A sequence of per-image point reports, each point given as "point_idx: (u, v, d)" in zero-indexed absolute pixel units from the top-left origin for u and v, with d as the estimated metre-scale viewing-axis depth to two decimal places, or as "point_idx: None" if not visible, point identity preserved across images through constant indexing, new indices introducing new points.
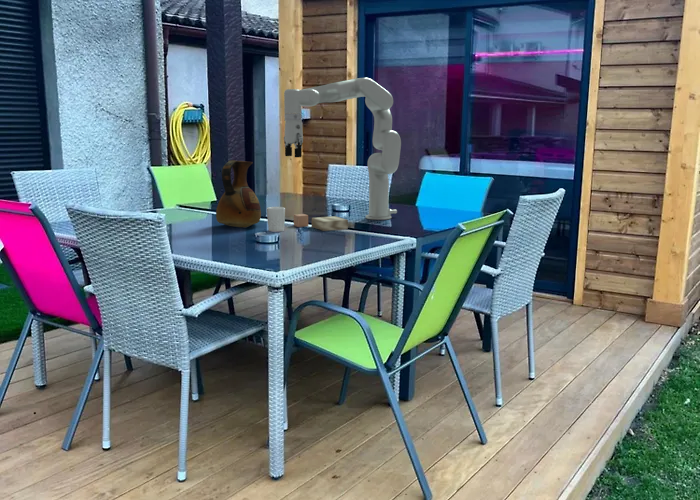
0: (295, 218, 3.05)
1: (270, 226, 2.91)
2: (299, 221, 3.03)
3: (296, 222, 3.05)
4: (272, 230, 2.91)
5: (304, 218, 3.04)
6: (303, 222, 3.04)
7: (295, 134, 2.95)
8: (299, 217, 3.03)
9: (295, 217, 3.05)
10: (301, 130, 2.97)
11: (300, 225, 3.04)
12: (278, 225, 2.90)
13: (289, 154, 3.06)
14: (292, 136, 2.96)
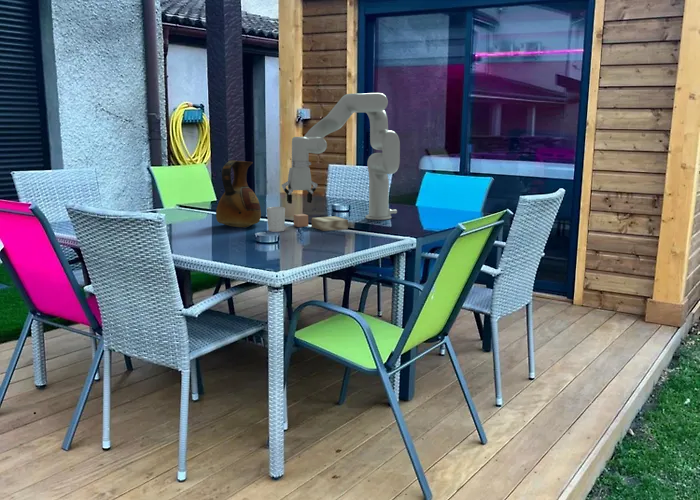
0: (295, 218, 3.05)
1: (270, 226, 2.91)
2: (299, 221, 3.03)
3: (296, 222, 3.05)
4: (272, 230, 2.91)
5: (304, 218, 3.04)
6: (303, 222, 3.04)
7: None
8: (299, 217, 3.03)
9: (295, 217, 3.05)
10: None
11: (300, 225, 3.04)
12: (278, 225, 2.90)
13: None
14: (309, 183, 3.03)
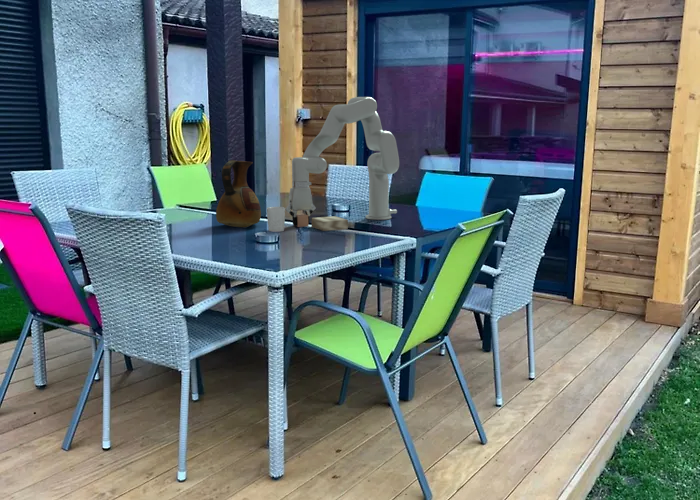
0: None
1: (270, 226, 2.91)
2: (299, 221, 3.03)
3: None
4: (272, 230, 2.91)
5: (304, 218, 3.04)
6: (303, 222, 3.04)
7: None
8: (299, 217, 3.03)
9: None
10: None
11: (300, 225, 3.04)
12: (278, 225, 2.90)
13: None
14: (310, 202, 3.05)
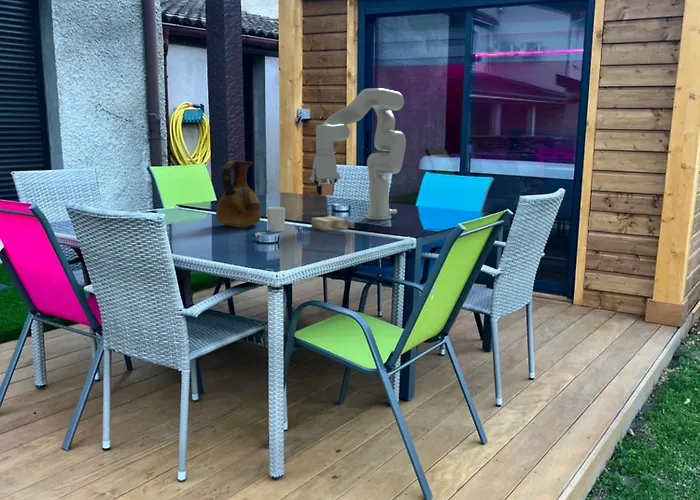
0: None
1: (270, 226, 2.91)
2: (324, 190, 2.96)
3: None
4: (272, 230, 2.91)
5: (329, 186, 2.97)
6: (327, 191, 2.97)
7: None
8: (323, 186, 2.96)
9: None
10: None
11: (324, 194, 2.97)
12: (278, 225, 2.90)
13: None
14: (335, 171, 2.97)
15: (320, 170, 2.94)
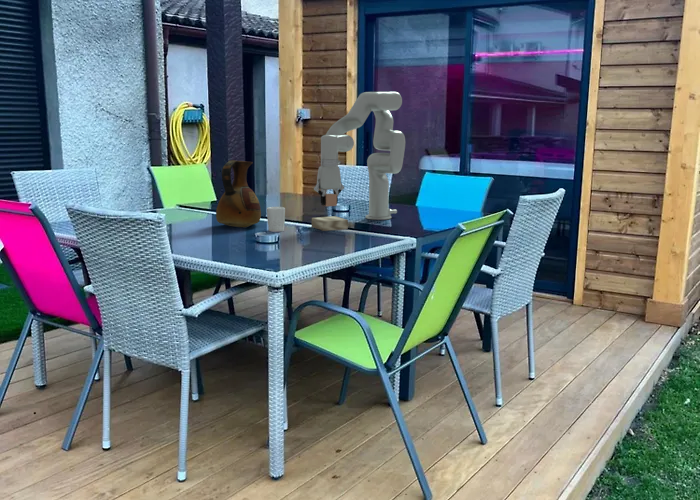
0: None
1: (270, 226, 2.91)
2: (328, 200, 2.96)
3: None
4: (272, 230, 2.91)
5: (333, 197, 2.97)
6: (332, 201, 2.97)
7: None
8: (328, 196, 2.95)
9: None
10: None
11: (328, 204, 2.96)
12: (278, 225, 2.90)
13: None
14: (339, 182, 2.97)
15: (324, 180, 2.94)
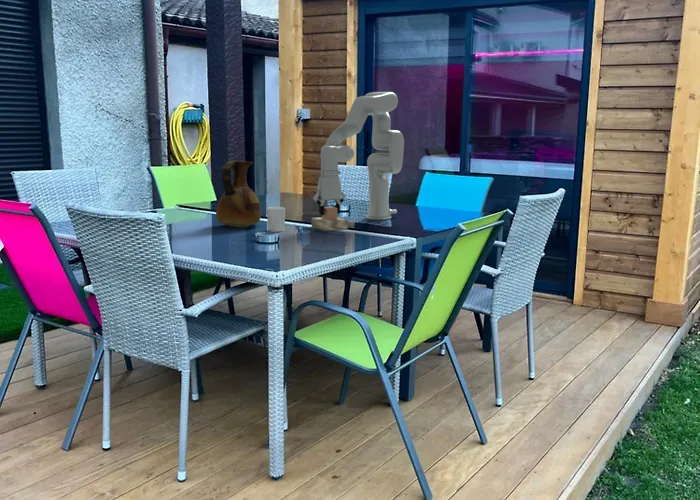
0: (324, 211, 2.99)
1: (270, 226, 2.91)
2: (328, 214, 2.97)
3: (325, 215, 2.99)
4: (272, 230, 2.91)
5: (334, 210, 2.98)
6: (332, 215, 2.98)
7: None
8: (328, 210, 2.97)
9: (324, 210, 2.99)
10: None
11: (329, 218, 2.98)
12: (278, 225, 2.90)
13: None
14: (339, 192, 2.98)
15: (325, 191, 2.95)
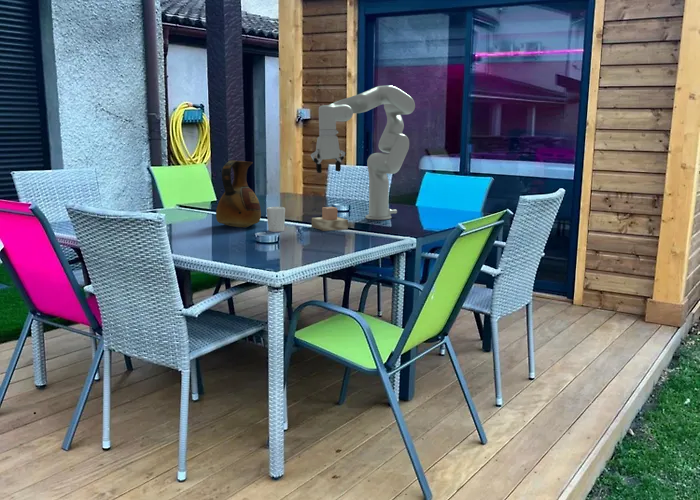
0: (324, 211, 2.99)
1: (270, 226, 2.91)
2: (328, 214, 2.97)
3: (325, 215, 2.99)
4: (272, 230, 2.91)
5: (334, 210, 2.98)
6: (332, 215, 2.98)
7: None
8: (328, 210, 2.97)
9: (324, 210, 2.99)
10: None
11: (329, 218, 2.98)
12: (278, 225, 2.90)
13: None
14: (337, 151, 3.03)
15: (324, 150, 2.99)
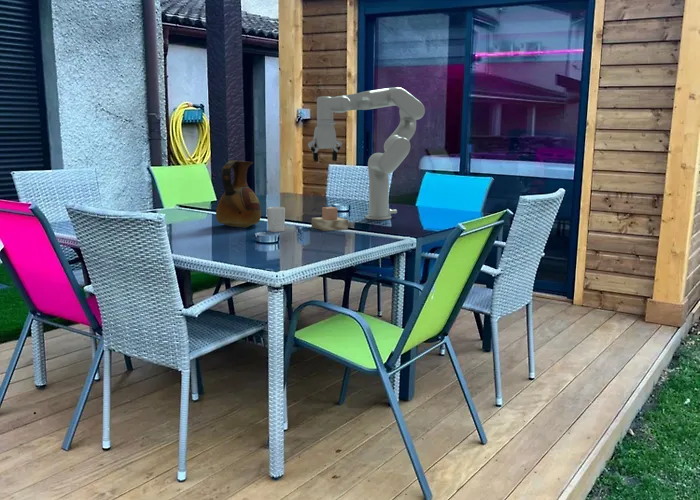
0: (324, 211, 2.99)
1: (270, 226, 2.91)
2: (328, 214, 2.97)
3: (325, 215, 2.99)
4: (272, 230, 2.91)
5: (334, 210, 2.98)
6: (332, 215, 2.98)
7: None
8: (328, 210, 2.97)
9: (324, 210, 2.99)
10: None
11: (329, 218, 2.98)
12: (278, 225, 2.90)
13: None
14: (334, 141, 3.13)
15: (321, 140, 3.09)
